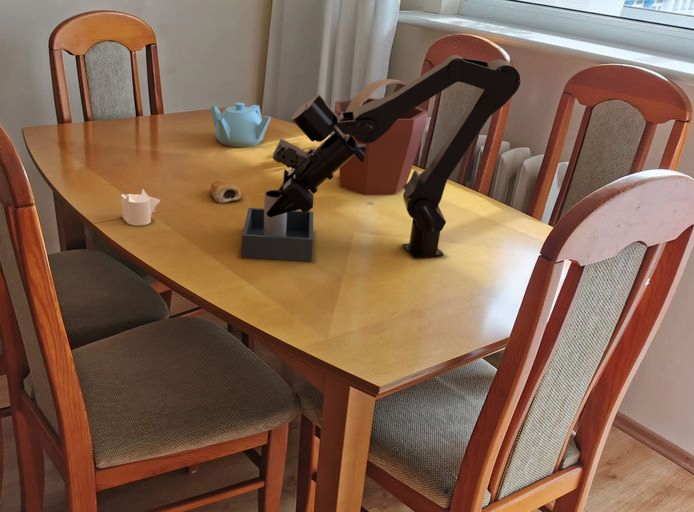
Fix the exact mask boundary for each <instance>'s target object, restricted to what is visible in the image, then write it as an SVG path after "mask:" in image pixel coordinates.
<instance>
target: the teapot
mask: <svg viewBox="0 0 694 512" xmlns="http://www.w3.org/2000/svg"><path fill="white" fill-rule="evenodd" d="M209 107H210V111H211V116H212V120H213V125H214V137H215V138H216V140H218V142H219V143H220V144H222V145H223V146H227V147H233V148H249V147H250V148H251V147H254V146H257V145H259V144H260V143H261V142H262V141H263V140H264V138H265V134H266V131H267V129H268V126H269V124H270V121H271V116H268V115H265V116H263V118H262V113H261V107H260V105H259V104H252V105H251V106H249V107H248V106H246V104H245V103H244V102H235V103H234V106H228V107H226V108H225V109H224V110H223V111H222V112H221V111H220V109H219V107H218V106H217V105H210V106H209Z"/></svg>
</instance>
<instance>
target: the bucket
mask: <svg viewBox="0 0 694 512" xmlns="http://www.w3.org/2000/svg"><path fill="white" fill-rule="evenodd" d="M409 83H410V82H407V81H403V80H398V79H393V78H392V79H391V78H383V79H378V80H375V81H372V82H370V83H369V84H367V85H366V86H365V87H364V88H363V89H362V90H361V91H360V92H359V93H358V94H356V95H355V96H354V97H353V98H351V99H344V100H337V101H335V102H334V111H333V112H334V113H339V112H349V111H354V110H355V109H356V108H358V107H359V106H362V105H364V104H366V103H369V102H371V101H374V100H377V99H378V98H374V97H373V98H372V96H373V95H374V94H375V93H376V92H377V91H378V90H380V89H381V88H383V87H385V86H389V85H392V84H396V85H395V88H394V89H393V93H395V92H396V91H398V90H400V89H401V88H403V87H404V86H406V85H407V84H409ZM428 115H429V111H428V110H425V109H424V108H421V107H419V106H417V107H415V108H414V109H412V110H410V111H409V112H407V113H406V114H404V115H402V116H401V117H400V118H399V119H398V120H397V121H396V122H395V123H394V124H393V125H392V127H391V128H390V129H389V130H388V131H387V132H385V133H384V134H383V135H382V136H381V137H380V138H378V139H377V140H376V141H374V142H372V143H368V144H367V143H363V142H360V141H358V140H357V139H356V138H355V137H354V136H352V135H351V136H352V137H353V138H354V139H355V140H356V142H357V143H358V144H365V145H366V151H365V155H364V162H361V161H360V160H359V159H358V158H357V157H356V156H355V155H354V156H353V157H352V158H351V159H349V160H348V161H347V162H346V163H345V164H344V165H343V166H341V167H340V168H339V169H338V170H339V179H340V180H339V182H340V188H342V189H346V190H349V191H351V192H355V193H358V194H362V195H365V196H371V195H376V196H377V195H396V194H397V193H399V192H400V191H402V190H403V189H404V185H406V184H407V183H408V182H409V181H408V180H409V177H410V174H411V172H412V168H413V165H414V162H415V160H416V157H417V153H418V150H419V147H420V144H421V142H422V139H423V135H424V132H425V130H426V126H427V123H428ZM338 129H339V128H338ZM339 130H340V129H339ZM340 131H341V130H340ZM343 134H344V133H343ZM344 135H347V134H344Z"/></svg>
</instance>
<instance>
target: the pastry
mask: <svg viewBox="0 0 694 512" xmlns="http://www.w3.org/2000/svg"><path fill="white" fill-rule="evenodd" d="M210 193H211V196H212V198H213V199H214V201H215V202H216V203H220V204H223V203H229V202H236V201H239V200H240V199H241V198H242V194H243V193H242V191H241V189H240V188H239V186H238V185H236V183H234V182H231V181H228V180H227V181H226V180H216V181H214V182H213V183H211V185H210Z"/></svg>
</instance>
